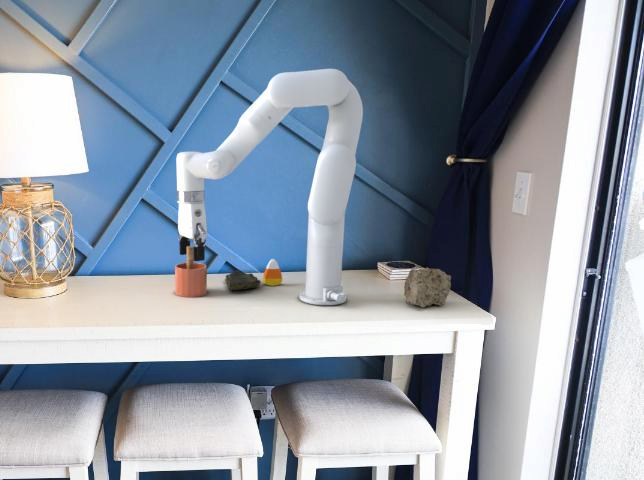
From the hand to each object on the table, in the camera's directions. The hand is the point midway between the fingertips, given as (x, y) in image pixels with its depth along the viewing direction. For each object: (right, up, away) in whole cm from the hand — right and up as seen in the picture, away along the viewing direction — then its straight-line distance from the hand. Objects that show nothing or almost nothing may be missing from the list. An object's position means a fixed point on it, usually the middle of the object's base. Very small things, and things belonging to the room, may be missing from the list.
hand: (191, 257), depth 181 cm
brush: (0, -10, +2) cm, 10 cm away
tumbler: (0, -10, +3) cm, 11 cm away
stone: (+15, -8, +10) cm, 20 cm away
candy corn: (+24, -8, +11) cm, 28 cm away
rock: (+64, -13, -10) cm, 66 cm away
